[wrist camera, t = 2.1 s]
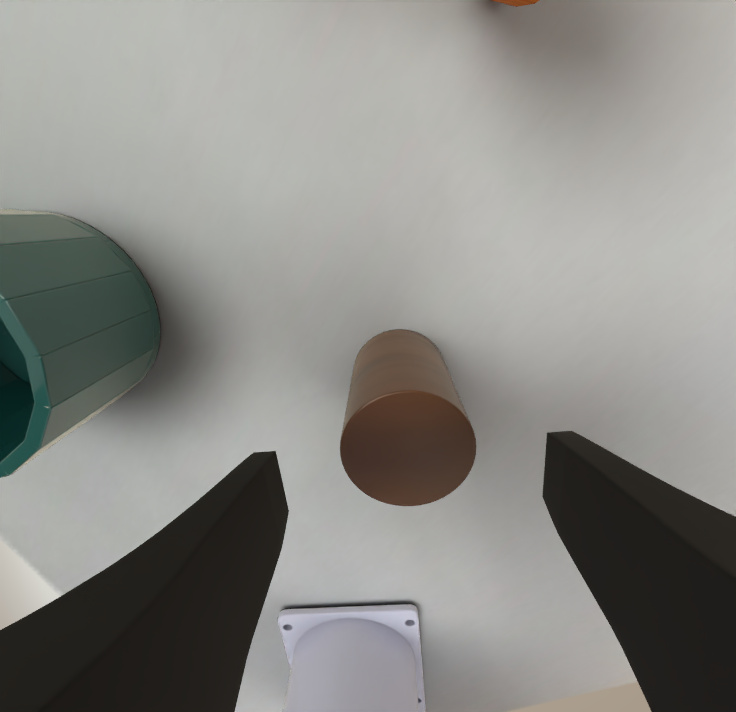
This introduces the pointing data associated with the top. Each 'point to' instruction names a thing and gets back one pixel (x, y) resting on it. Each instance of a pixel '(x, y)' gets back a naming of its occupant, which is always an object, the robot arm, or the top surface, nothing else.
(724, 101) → the top surface
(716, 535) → the robot arm
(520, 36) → the top surface
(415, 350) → the walnut peg
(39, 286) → the mug
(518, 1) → the carrot
